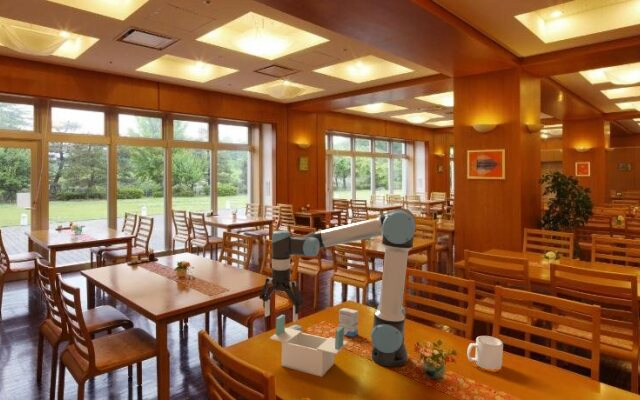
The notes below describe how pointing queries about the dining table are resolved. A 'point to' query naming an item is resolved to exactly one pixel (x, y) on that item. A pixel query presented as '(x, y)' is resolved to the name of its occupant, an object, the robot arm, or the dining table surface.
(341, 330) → the flap near
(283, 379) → the dining table surface
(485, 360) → the mug
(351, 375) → the dining table surface
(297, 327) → the medicine box
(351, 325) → the ink box
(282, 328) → the flap far
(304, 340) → the carton
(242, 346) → the dining table surface
